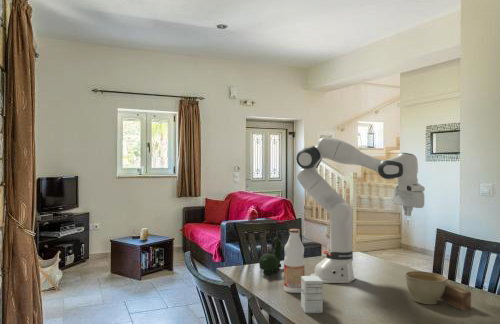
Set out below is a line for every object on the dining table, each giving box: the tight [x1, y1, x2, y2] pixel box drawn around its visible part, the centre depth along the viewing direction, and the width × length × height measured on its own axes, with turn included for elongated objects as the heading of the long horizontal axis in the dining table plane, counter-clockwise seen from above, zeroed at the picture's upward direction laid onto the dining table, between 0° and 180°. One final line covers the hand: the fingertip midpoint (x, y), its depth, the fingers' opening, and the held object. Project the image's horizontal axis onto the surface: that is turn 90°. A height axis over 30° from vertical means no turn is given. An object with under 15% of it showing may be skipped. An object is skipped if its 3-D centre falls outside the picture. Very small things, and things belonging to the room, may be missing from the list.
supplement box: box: [300, 275, 324, 314], centre depth 160 cm, size 7×7×13 cm
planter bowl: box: [404, 270, 447, 305], centre depth 172 cm, size 16×16×11 cm
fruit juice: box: [283, 228, 306, 294], centre depth 185 cm, size 9×9×28 cm
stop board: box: [438, 281, 472, 311], centre depth 173 cm, size 4×24×7 cm, turn 12°
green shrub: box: [258, 236, 284, 276], centre depth 215 cm, size 9×19×25 cm
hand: (407, 215), depth 192 cm, fingers closed
